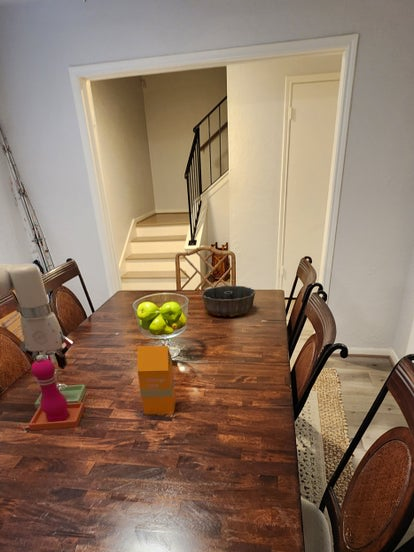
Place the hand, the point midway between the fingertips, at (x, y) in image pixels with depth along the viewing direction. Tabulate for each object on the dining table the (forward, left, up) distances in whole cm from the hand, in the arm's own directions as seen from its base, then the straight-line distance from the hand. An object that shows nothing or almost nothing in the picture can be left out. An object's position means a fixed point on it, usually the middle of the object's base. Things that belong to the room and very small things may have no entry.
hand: (53, 367), depth 113 cm
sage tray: (0, 0, -11) cm, 11 cm away
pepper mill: (+2, -11, -11) cm, 16 cm away
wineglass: (0, 0, -7) cm, 7 cm away
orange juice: (+32, -9, -11) cm, 35 cm away
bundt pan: (+63, +76, -11) cm, 99 cm away
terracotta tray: (+2, -11, -11) cm, 16 cm away
